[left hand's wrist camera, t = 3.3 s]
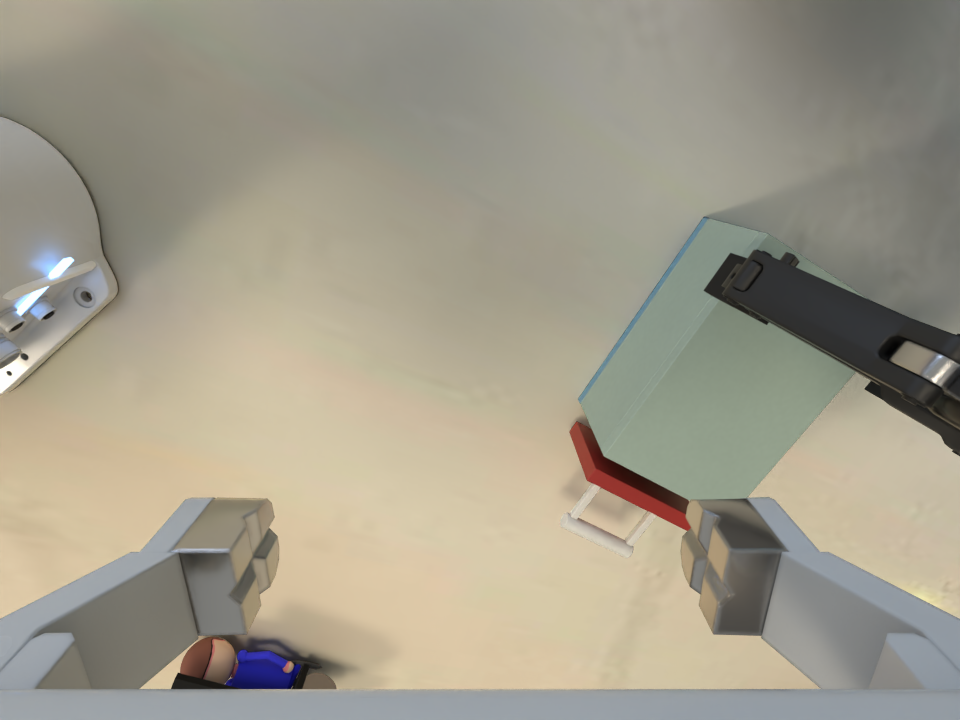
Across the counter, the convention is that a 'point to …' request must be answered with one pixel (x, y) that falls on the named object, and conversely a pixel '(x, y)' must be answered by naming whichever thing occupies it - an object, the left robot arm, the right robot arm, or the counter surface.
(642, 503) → the drawer
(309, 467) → the counter surface
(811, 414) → the cabinet
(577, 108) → the counter surface
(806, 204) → the counter surface
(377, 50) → the counter surface
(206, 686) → the figurine character
